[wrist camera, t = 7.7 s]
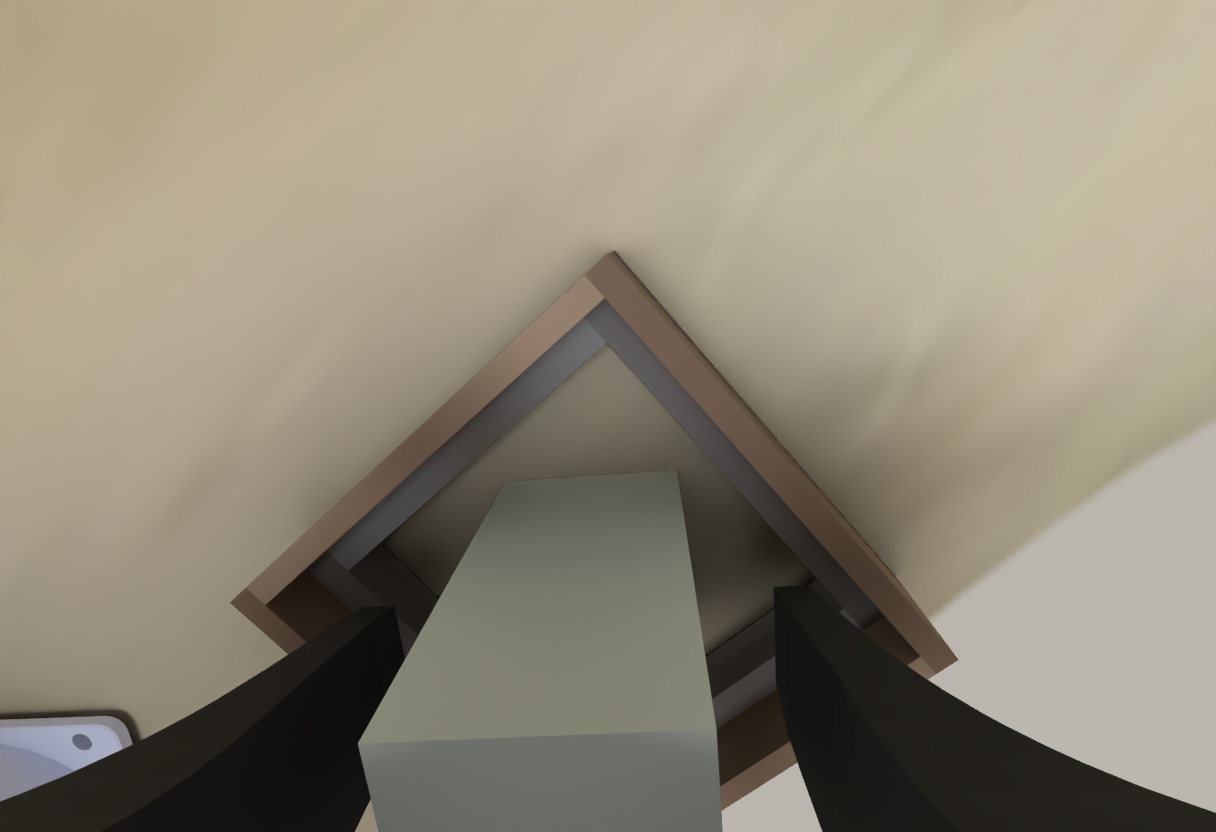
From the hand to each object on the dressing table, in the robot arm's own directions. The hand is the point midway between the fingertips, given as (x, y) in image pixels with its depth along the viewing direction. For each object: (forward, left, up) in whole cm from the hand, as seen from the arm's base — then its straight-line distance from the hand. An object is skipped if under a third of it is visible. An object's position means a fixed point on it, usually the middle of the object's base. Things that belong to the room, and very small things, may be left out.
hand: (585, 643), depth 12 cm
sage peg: (0, 0, -3) cm, 3 cm away
